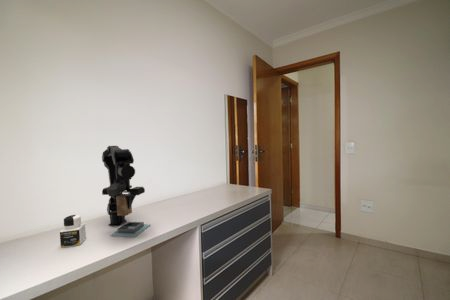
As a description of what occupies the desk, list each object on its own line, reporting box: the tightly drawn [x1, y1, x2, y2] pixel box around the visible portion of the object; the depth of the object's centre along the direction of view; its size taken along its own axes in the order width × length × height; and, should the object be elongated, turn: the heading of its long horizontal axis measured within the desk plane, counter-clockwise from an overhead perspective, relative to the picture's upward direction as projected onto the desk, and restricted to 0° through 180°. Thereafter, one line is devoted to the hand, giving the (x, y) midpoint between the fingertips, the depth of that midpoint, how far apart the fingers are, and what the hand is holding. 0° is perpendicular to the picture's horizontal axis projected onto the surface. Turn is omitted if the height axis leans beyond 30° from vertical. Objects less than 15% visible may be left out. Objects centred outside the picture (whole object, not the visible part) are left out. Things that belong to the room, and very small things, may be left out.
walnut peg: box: [116, 193, 133, 217], centre depth 98 cm, size 4×4×9 cm
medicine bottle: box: [59, 214, 87, 249], centre depth 91 cm, size 7×7×12 cm
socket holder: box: [109, 221, 151, 238], centre depth 102 cm, size 13×13×3 cm
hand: (124, 208), depth 98 cm, fingers closed on walnut peg, 4 cm apart
